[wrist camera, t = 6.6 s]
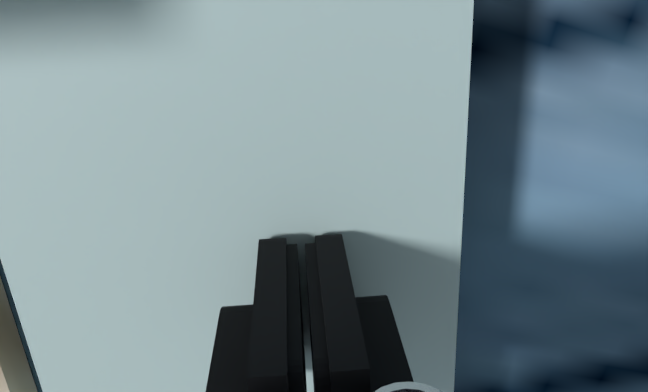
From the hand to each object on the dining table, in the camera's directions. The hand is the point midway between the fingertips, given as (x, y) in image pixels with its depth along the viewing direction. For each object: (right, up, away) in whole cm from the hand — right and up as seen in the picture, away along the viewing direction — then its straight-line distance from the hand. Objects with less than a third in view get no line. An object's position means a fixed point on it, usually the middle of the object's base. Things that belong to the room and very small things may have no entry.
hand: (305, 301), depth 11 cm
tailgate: (-6, 0, +1) cm, 6 cm away
